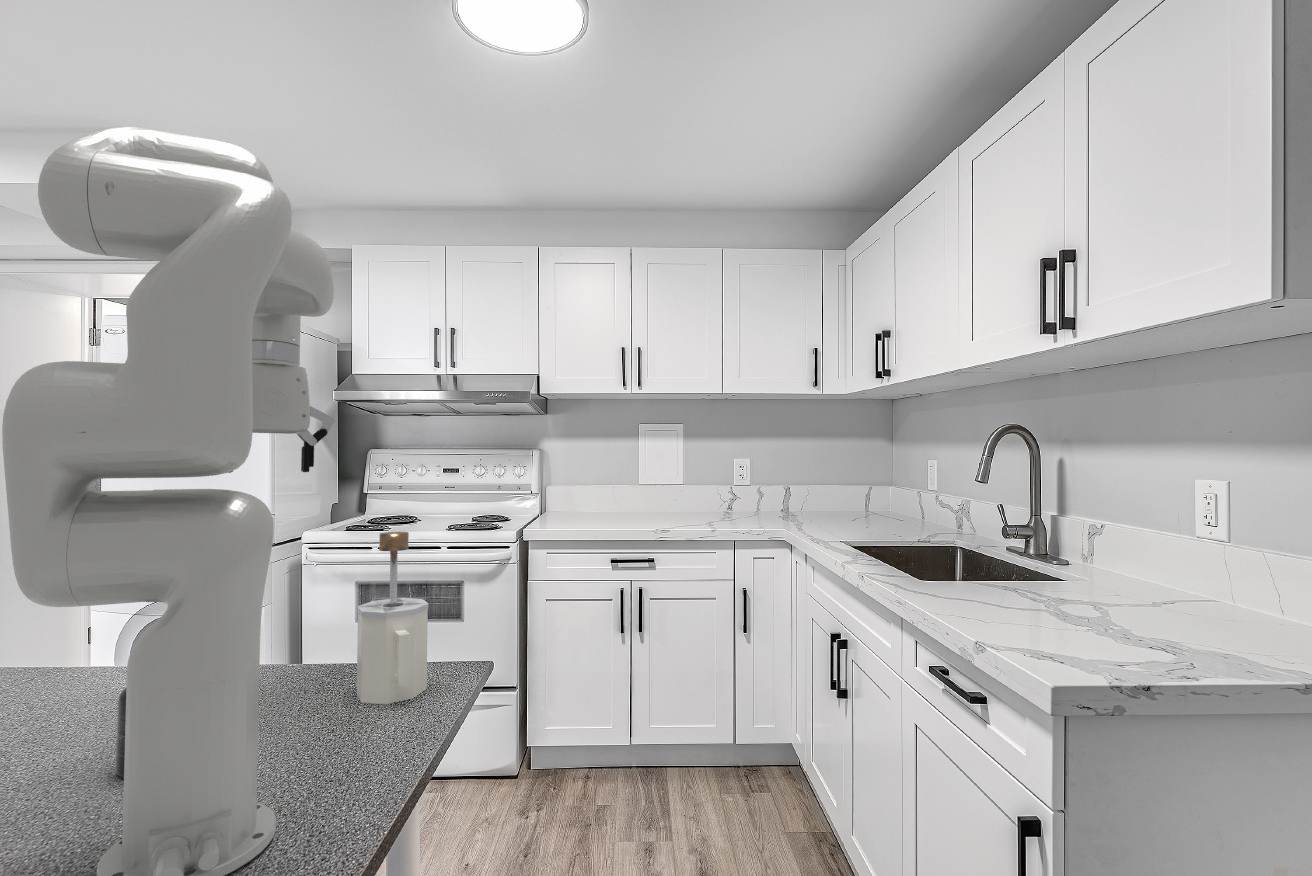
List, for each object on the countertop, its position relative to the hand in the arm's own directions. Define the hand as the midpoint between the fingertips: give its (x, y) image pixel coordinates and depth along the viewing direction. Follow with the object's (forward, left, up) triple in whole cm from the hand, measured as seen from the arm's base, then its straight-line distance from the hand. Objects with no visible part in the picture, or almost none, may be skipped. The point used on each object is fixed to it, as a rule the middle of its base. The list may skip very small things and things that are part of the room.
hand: (268, 472), depth 94 cm
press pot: (-11, -16, -33) cm, 38 cm away
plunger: (-9, -16, -26) cm, 32 cm away
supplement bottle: (-18, +11, -33) cm, 39 cm away
